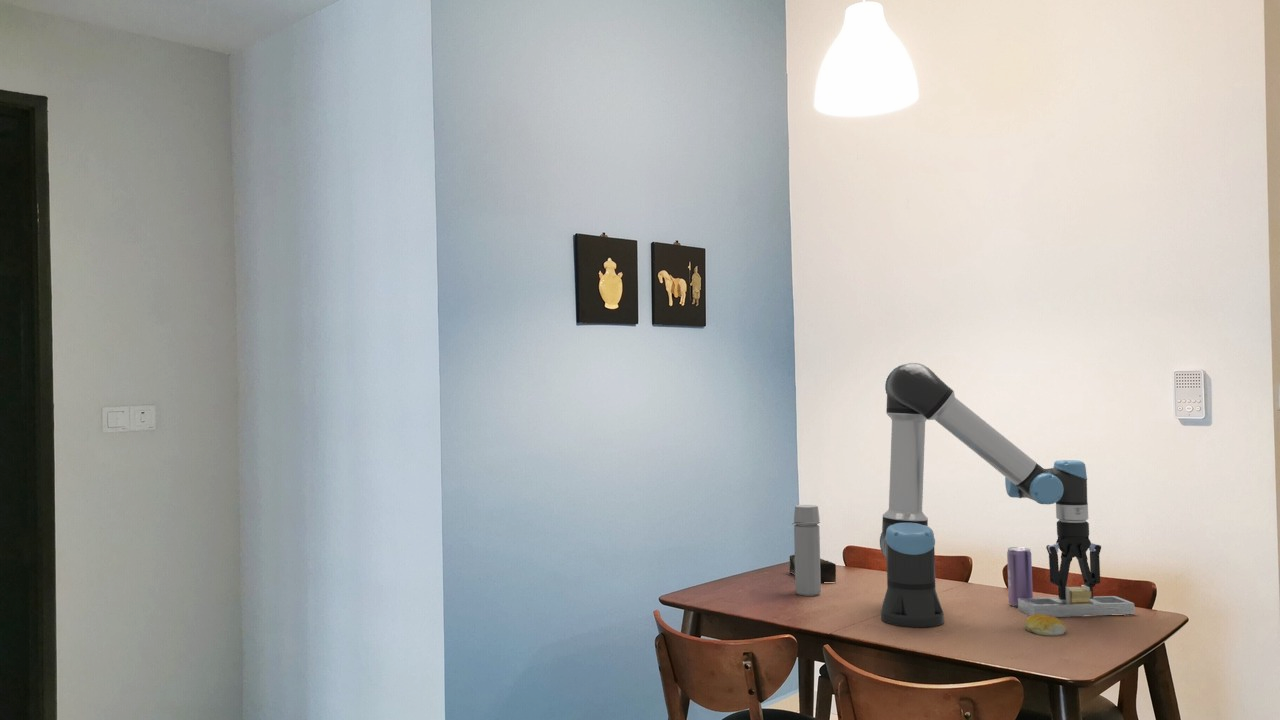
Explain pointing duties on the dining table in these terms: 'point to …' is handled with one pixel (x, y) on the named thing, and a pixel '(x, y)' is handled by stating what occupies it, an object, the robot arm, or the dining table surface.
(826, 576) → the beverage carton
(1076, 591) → the pale yellow block
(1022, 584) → the beverage can
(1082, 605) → the grey compartment tray
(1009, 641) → the dining table surface
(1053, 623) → the bread roll
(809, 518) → the water bottle
